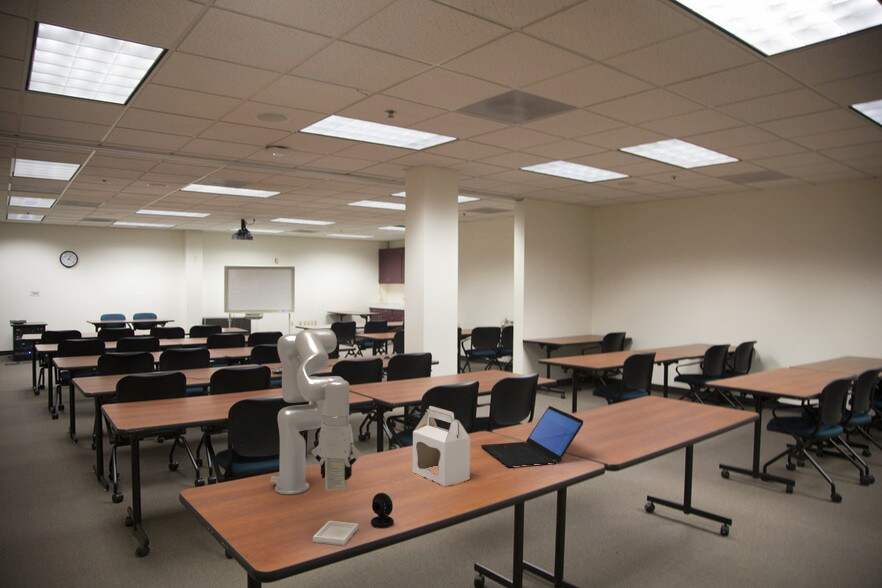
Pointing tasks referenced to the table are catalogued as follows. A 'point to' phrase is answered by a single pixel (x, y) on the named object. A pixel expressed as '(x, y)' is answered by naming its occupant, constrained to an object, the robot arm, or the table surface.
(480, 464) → the table surface
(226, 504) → the table surface
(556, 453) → the laptop
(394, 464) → the table surface
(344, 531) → the tray
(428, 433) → the gable box
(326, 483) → the skincare box
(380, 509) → the webcam
